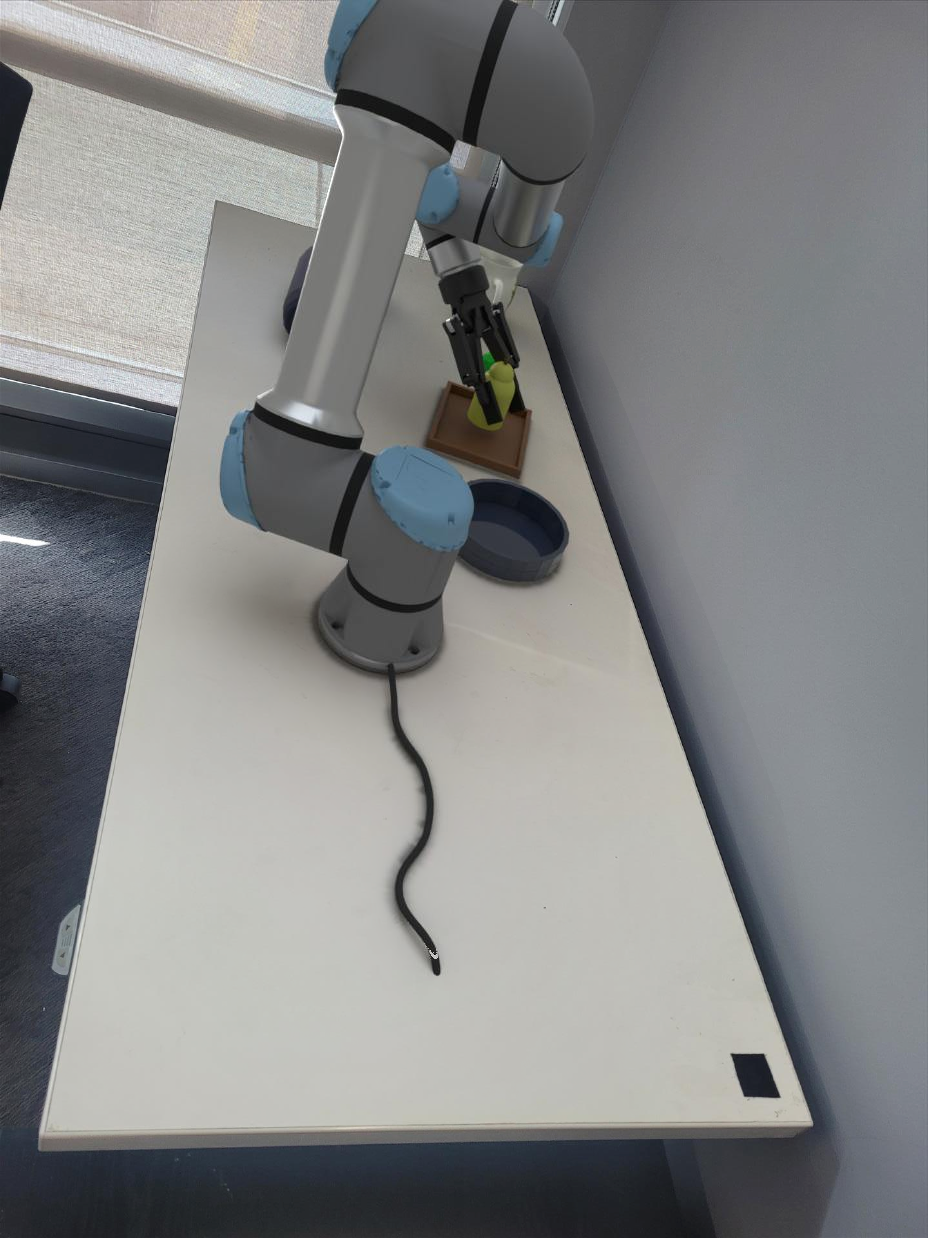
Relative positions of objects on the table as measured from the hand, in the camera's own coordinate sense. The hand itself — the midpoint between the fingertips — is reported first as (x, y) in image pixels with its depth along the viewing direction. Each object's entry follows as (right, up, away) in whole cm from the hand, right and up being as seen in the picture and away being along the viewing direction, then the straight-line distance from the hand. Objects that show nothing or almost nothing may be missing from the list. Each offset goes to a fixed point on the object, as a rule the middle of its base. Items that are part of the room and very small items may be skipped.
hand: (507, 416), depth 133 cm
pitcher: (-4, +28, +35) cm, 45 cm away
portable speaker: (-34, +21, +15) cm, 42 cm away
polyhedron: (-3, +12, +19) cm, 23 cm away
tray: (-4, -2, +5) cm, 7 cm away
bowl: (-2, -21, -13) cm, 25 cm away
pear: (-4, 0, +3) cm, 5 cm away
